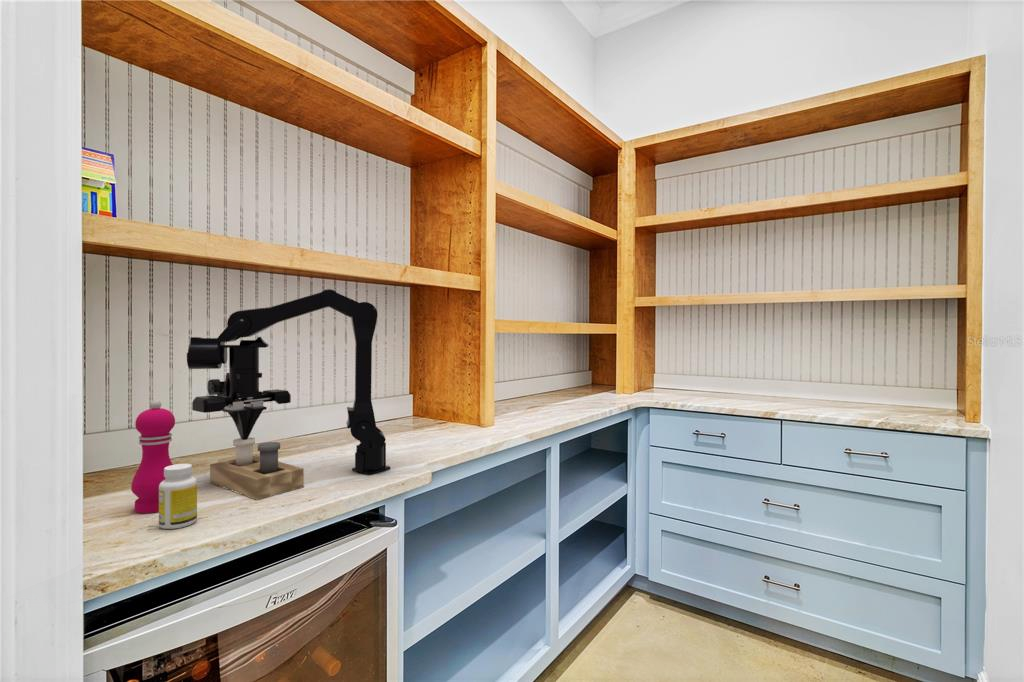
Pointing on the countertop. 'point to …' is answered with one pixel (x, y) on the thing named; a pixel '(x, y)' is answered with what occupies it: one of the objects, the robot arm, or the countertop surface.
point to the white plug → (243, 451)
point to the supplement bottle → (177, 497)
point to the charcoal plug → (268, 457)
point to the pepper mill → (152, 455)
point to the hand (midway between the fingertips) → (244, 439)
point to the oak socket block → (256, 478)
